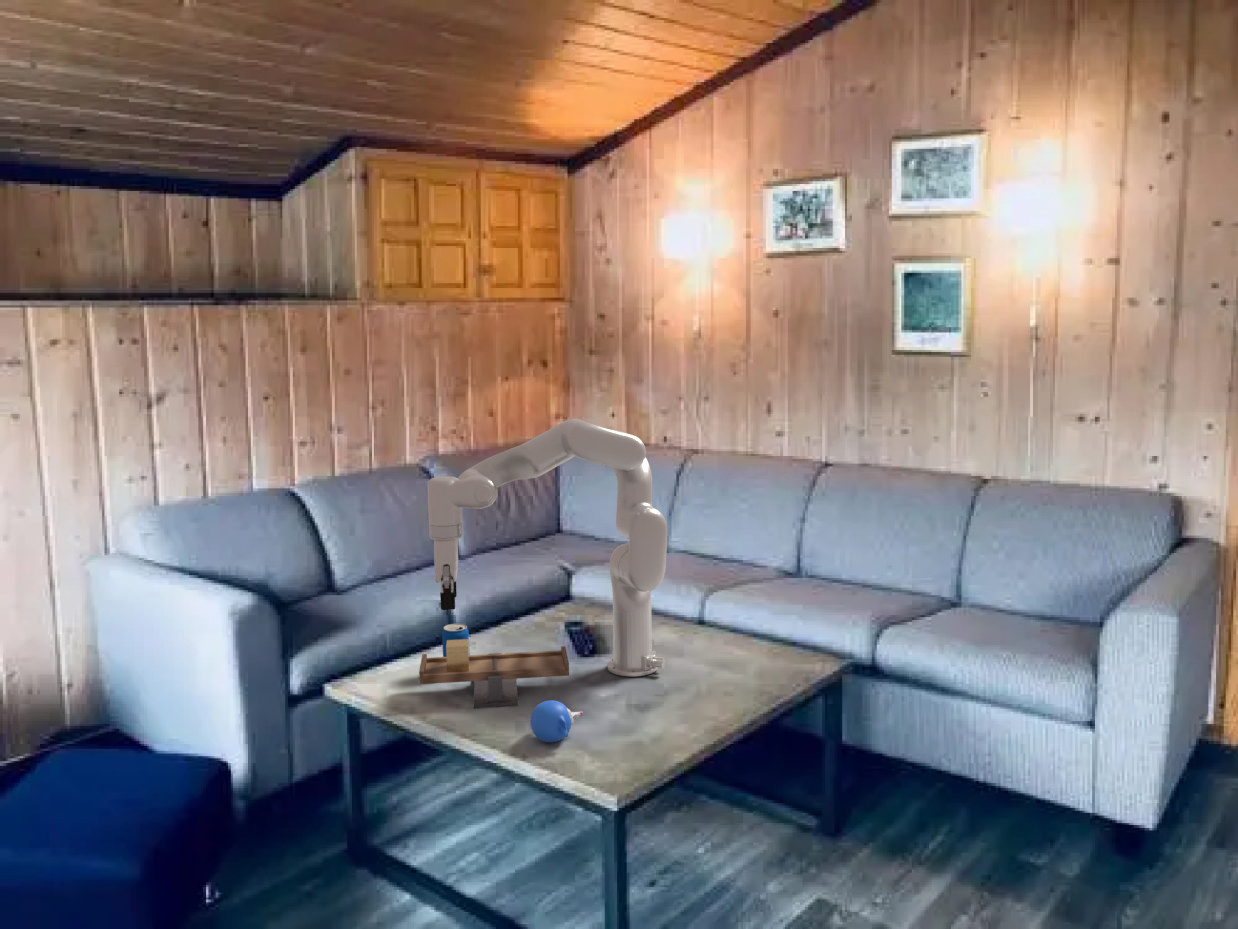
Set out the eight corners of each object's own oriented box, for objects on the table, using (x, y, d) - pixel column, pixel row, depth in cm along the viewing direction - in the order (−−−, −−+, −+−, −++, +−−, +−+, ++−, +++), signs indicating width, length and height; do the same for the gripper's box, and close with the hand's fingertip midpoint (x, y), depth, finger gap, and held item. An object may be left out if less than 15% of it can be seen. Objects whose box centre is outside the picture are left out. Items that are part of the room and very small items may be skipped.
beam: (565, 658, 256) (565, 645, 255) (569, 677, 243) (569, 664, 242) (423, 666, 252) (422, 653, 251) (419, 686, 239) (419, 672, 238)
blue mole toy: (597, 741, 220) (596, 703, 219) (547, 755, 214) (546, 716, 213) (569, 722, 230) (568, 685, 229) (520, 735, 224) (519, 697, 223)
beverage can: (465, 679, 257) (463, 631, 255) (439, 677, 259) (437, 630, 257) (473, 670, 264) (472, 623, 262) (449, 668, 265) (447, 622, 263)
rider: (469, 663, 249) (468, 639, 248) (469, 671, 244) (468, 646, 243) (447, 664, 249) (446, 640, 248) (447, 672, 244) (446, 647, 243)
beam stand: (516, 678, 258) (515, 651, 257) (518, 706, 240) (517, 677, 239) (474, 680, 257) (473, 653, 255) (473, 708, 239) (472, 680, 238)
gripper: (431, 523, 249) (434, 593, 252) (427, 540, 232) (430, 615, 235) (463, 522, 250) (466, 592, 252) (461, 538, 233) (464, 613, 236)
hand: (448, 603), depth 244 cm, fingers open, 9 cm apart
